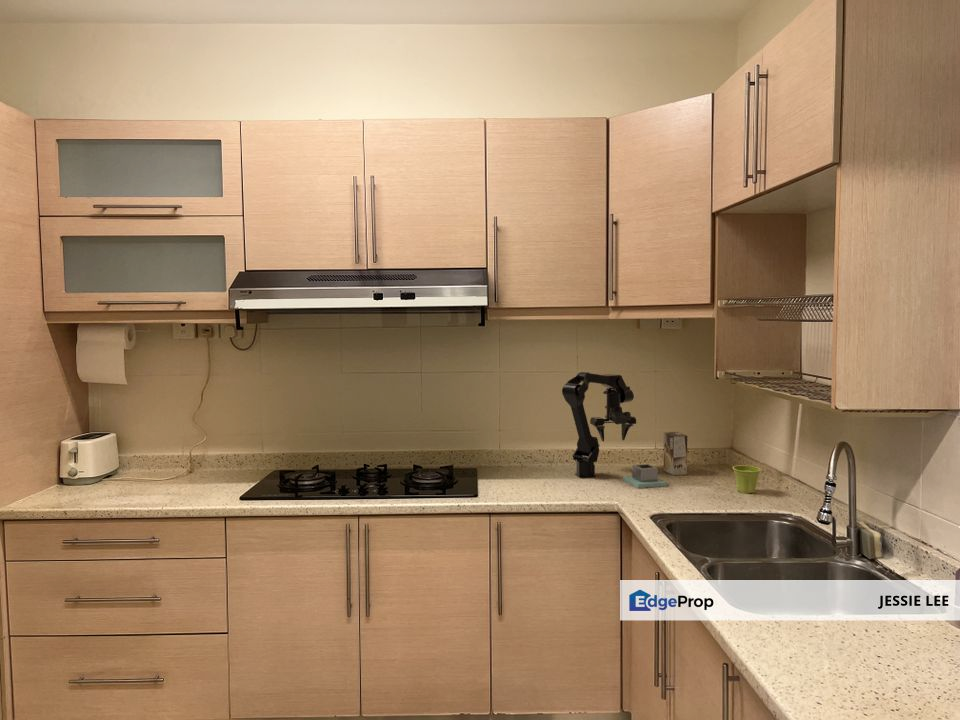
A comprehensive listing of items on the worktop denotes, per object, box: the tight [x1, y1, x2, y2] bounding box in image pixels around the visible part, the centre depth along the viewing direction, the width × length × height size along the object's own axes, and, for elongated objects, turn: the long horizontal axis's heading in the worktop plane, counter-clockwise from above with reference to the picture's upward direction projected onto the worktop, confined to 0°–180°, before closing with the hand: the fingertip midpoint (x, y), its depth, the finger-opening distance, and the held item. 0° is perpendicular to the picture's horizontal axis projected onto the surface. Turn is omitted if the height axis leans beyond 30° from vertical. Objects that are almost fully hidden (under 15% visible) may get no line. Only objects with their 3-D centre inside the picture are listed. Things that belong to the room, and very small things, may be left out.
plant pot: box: [732, 464, 762, 495], centre depth 228 cm, size 9×9×9 cm
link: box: [631, 463, 659, 482], centre depth 240 cm, size 7×7×5 cm
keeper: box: [623, 475, 668, 489], centre depth 241 cm, size 12×12×6 cm
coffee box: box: [663, 431, 688, 476], centre depth 256 cm, size 9×6×16 cm
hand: (613, 440), depth 263 cm, fingers open, 9 cm apart
